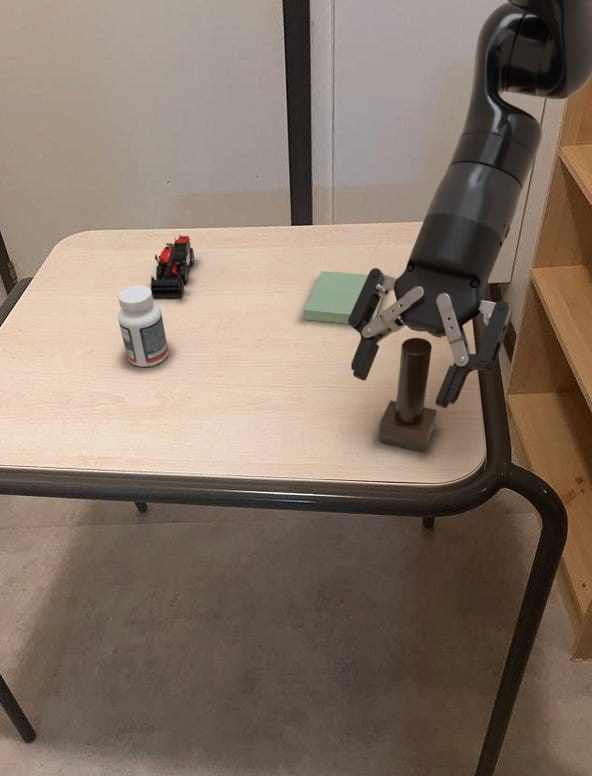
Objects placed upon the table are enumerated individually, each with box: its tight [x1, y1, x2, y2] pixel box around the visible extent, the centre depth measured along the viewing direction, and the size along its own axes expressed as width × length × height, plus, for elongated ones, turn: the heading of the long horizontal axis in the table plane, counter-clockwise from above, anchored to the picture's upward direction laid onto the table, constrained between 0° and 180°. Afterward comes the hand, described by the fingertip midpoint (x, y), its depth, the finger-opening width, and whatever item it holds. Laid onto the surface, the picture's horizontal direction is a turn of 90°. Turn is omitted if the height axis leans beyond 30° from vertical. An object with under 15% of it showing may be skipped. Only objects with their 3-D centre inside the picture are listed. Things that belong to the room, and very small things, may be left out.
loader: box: [150, 234, 195, 298], centre depth 103 cm, size 12×5×5 cm, turn 172°
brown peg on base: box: [378, 337, 438, 453], centre depth 73 cm, size 5×4×12 cm
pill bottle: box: [117, 285, 169, 368], centre depth 88 cm, size 5×5×9 cm
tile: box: [303, 270, 383, 325], centre depth 96 cm, size 9×10×2 cm
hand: (398, 392), depth 69 cm, fingers open, 8 cm apart
